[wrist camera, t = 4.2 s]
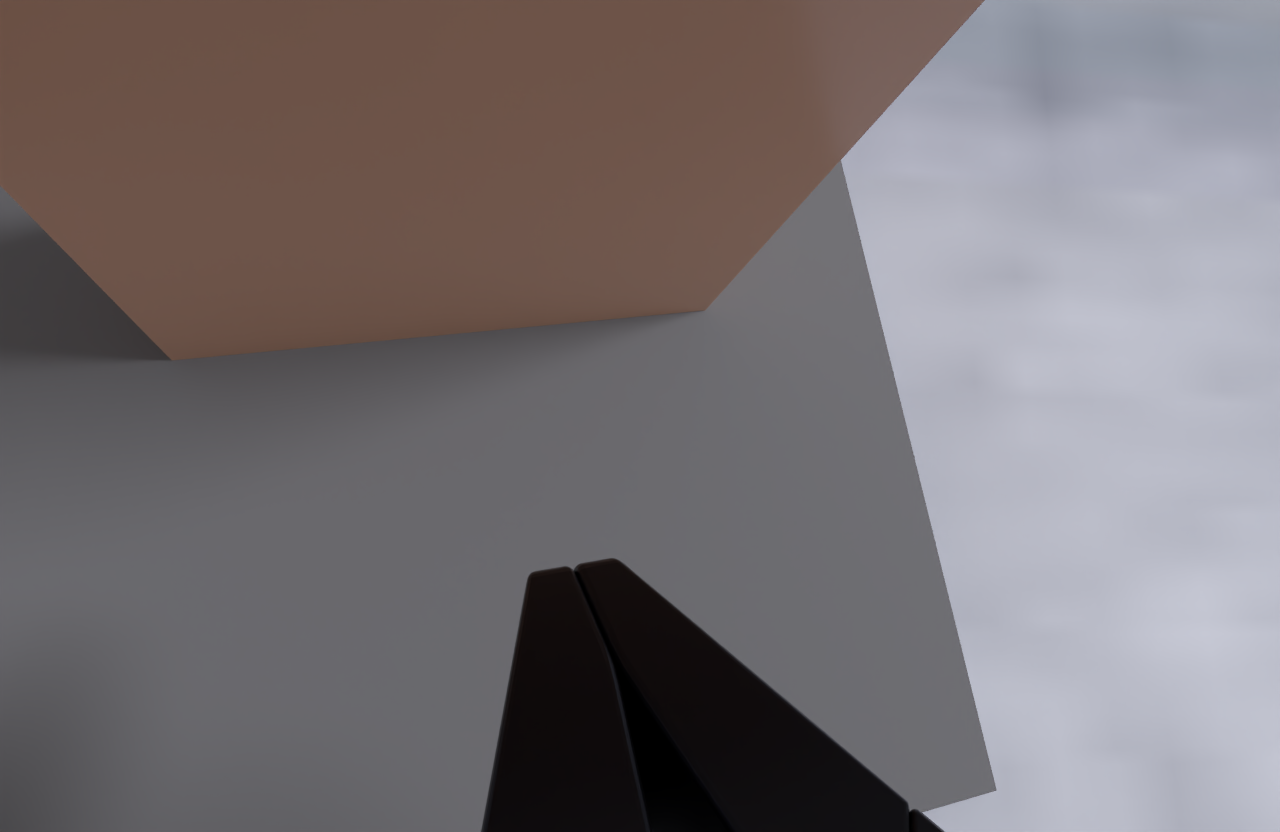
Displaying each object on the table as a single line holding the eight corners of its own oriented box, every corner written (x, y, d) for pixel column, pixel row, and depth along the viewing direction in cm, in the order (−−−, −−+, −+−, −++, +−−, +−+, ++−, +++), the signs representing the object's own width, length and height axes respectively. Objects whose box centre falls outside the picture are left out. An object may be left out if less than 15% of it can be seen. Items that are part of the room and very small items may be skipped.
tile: (171, 359, 15) (-295, -114, 5) (159, 202, 15) (-279, -484, 6) (704, 310, 17) (1037, -59, 8) (678, 178, 18) (957, -312, 8)
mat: (977, 784, 17) (996, 790, 16) (-72, 1087, 12) (-96, 1111, 12) (748, -157, 21) (756, -178, 21) (-90, -217, 16) (-109, -248, 16)
